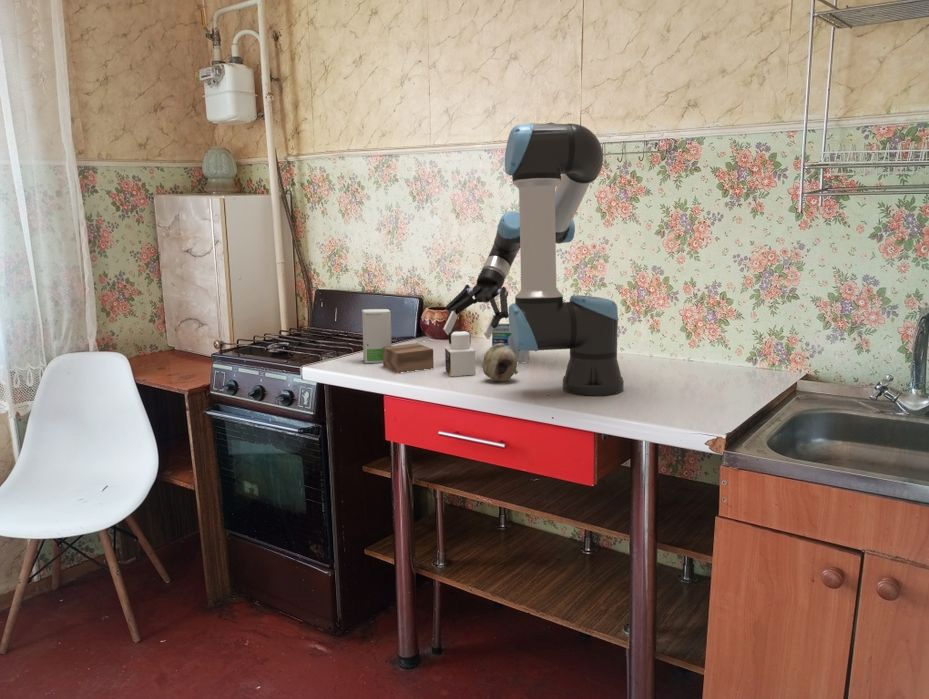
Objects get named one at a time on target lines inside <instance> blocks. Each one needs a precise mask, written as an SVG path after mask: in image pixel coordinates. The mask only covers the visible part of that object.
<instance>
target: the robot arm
mask: <svg viewBox="0 0 929 699" xmlns="http://www.w3.org/2000/svg"><path fill="white" fill-rule="evenodd" d="M603 165H604V152H603V147H602V144H601V143H600V141H599V139H598V138H597V136H596V135H595V134H594V133H593V131H591V130H590V129H589V128H588V127H585V126H583V125H582V124H578V123H535V122H534V123H533V122H531V123H525V124H516V125H515V126H514V127H512V129H511V130H510V132H509V135H508V137H507V142H506V148H505V153H504V170H505V173H506V175H508V176H510V177H511V176H512V177H511V178H512V185H514V186H515V187H516V188H517V190H518V198H519V199H518V200H519V201H518V202H519V204H518V206H519V212H518V211H516V210H509V211H506V212H504V213H503V214H502V216H501V217H500V220H499V222H498V224H497V229H496V234H495V238H494V241H493V244H492V247H491V250H490V251H489V254H488V256H487V258H486V260H485V262H484V264H483V266H482V269H481V270H480V272H479V275H478V277H477V279H476V284H475V286H470V285H469V284H465V285H464V287H463V289H462V290H461V291H460V292H459V293H458V294H457V295H455V297H454V298H453V299H452V300H451V301H450V302H449V303H448V304H446V306H445V309H446V311H447V313H448V314H447V316H446V318H445V321H446V322H445V324H444V327H443V329H442V330H443V331H444V332H445V334H446V335H447V336H449V333H450V332H451V331H453V330H452V329H453V328H454V326H455V323H456V321H457V319H458V317H459V316H458V314H460V313H461V312H463V311H465V310H466V309H467V308H469V307H470V306H472V305H473V304H474V305H475V304H477V303H486V304H487V303H488V302H489V303H490V306H491V308H492V310H493V314H491V315H490V317H489V320H488V322H487V324H486V326H485V328H484V330H483V335H484V336H485V338H486V339H487V340H488V339H489V340H490V338H492V332H493V330H494V328H496V327H497V326H498V324H500V321H501V320H502V319H508V324H509V325H510V330H511V335H512V338H513V341H514V343H515V345H516V347H517V348H518V349H520V350H522V351H529V352H530V351H531V352H532V351H533V352H538V351H549V350H550V351H554V350H555V351H556V350H569V360H568V363H567V366H566V370H565V373H564V374H565V375H563V377H562V389H563V390H564V391H565V392H568V393H570V394H571V393H572V394H575V395H581V396H608V395H610V396H611V395H615V394H619V393H621V392H622V391H624V381H625V380H624V378H623V376H622V374H621V373H622V372H621V370H620V365H619V361H618V328H619V327H618V326H619V325H618V324H619V315H618V313H619V312H618V305H617V302H615V301H614V300H611V299H608V298H604V297H599V296H591V295H582V294H581V295H578V294H577V295H575V294H573V295H571V296H570V297H569V301H564V295H563V293H562V292H560V291H559V289H558V288H557V256H556V255H557V251H556V249H557V247H556V244H558V245H559V244H564V243H566V244H567V243H571V242H572V241H573V240H574V237H575V234H576V233H575V232H576V228H575V221H574V217H575V215H576V213H577V211H578V209H579V207H580V205H581V203H582V201H583V199H584V197H585V194H586V192H587V191H588V188H589V187H590V184H591V183H592V182H594V181H595V180H597V178H598V177H599V175H600V173H601V171H602V169H603ZM519 251H520V252H519ZM518 253H520V256H519V257H520V290H519V292H518V293H516V295H515V296H514V300H515V301H514V303H511V304H510V305H509V306H508V296H509V291H508V290H507V288H506V286H503V285H504V284H505V280H506V278H507V277H508V275H509V272H510V270H511V268H512V265H513V263H514V262H515V259H516V257H517V255H518ZM498 296H499V300H500V303H499V304H500V309H499V307H498V305H497V301H496V299H495V298H496V297H498Z"/></svg>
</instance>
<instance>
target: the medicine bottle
mask: <svg viewBox="0 0 929 699" xmlns="http://www.w3.org/2000/svg"><path fill="white" fill-rule="evenodd" d="M471 340H472V339H471V332H470V331H468V330H465V329H455V330H451V332H450V333H449V335H448V346H445V348H444V356H445V372H446V373H447V374H448V375H449V376H450V377H451V376H454V377H463V376H462V375H469V376H475V375H476V350H475V349H474V348H473V347H471V344H472V343H471V342H472V341H471Z"/></svg>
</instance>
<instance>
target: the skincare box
mask: <svg viewBox="0 0 929 699" xmlns="http://www.w3.org/2000/svg"><path fill="white" fill-rule="evenodd" d="M361 313H362V315H361V316H362V350H363V351H362V355H363V356H362V357H363V361H364V363H365V364H383V347H388V346H392V316H391V314H392V312H391V310H389V309H388V308H380V309H379V308H374V309H373V308H370V309H361Z"/></svg>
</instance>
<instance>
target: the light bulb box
mask: <svg viewBox="0 0 929 699" xmlns="http://www.w3.org/2000/svg"><path fill="white" fill-rule="evenodd" d="M499 343H503V344H504V345H505V346H510V347H511V349H512V351H513V352H514V354H515V355H516V358H517V362H527V361H529V360H528V359H530V351H522V350H520V349H518V348H517V347H516V345H515V343H514V341H513V338H512V335H511V330H510V325H509V323H499V324H498V326H497V327H496V328H494V330H493V332H492V334H491V347H492V346H494V345H496V344H499ZM527 363H528V362H527Z"/></svg>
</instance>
